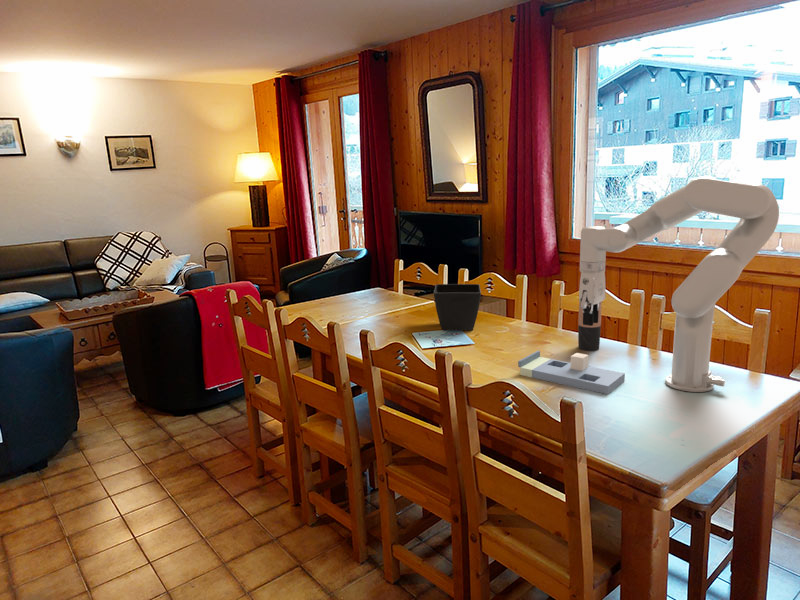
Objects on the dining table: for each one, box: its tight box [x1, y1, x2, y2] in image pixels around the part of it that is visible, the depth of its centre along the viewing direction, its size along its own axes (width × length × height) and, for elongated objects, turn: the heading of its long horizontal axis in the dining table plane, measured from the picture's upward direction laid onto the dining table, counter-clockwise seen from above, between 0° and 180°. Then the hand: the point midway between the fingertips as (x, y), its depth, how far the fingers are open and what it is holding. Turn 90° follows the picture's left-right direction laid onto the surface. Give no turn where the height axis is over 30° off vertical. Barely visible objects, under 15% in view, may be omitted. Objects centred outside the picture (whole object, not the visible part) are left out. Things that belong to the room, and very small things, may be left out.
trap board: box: [517, 350, 626, 395], centre depth 175 cm, size 29×13×4 cm, turn 49°
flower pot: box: [433, 283, 482, 331], centre depth 237 cm, size 19×19×17 cm
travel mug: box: [577, 300, 603, 352], centre depth 202 cm, size 8×8×20 cm
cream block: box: [570, 352, 589, 371], centre depth 176 cm, size 4×4×4 cm
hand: (590, 323), depth 180 cm, fingers open, 3 cm apart
